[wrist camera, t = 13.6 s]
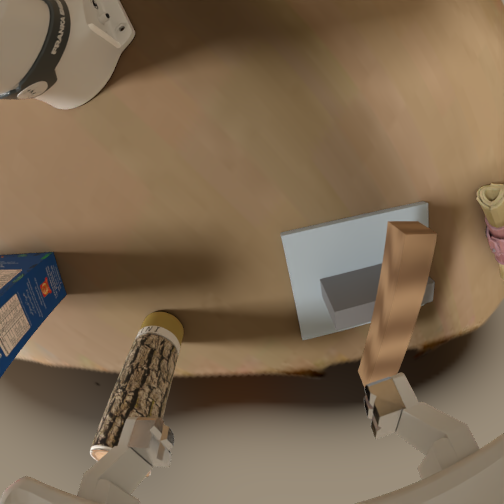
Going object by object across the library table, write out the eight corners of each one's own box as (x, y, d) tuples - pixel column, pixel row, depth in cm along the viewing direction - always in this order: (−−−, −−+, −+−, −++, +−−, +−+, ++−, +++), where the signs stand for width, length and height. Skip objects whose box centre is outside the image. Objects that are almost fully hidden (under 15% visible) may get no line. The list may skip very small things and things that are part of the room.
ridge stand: (301, 335, 45) (311, 377, 36) (280, 232, 38) (290, 263, 29) (420, 301, 43) (446, 332, 34) (423, 201, 36) (461, 220, 27)
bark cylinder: (193, 327, 44) (162, 473, 21) (168, 348, 45) (133, 479, 23) (159, 301, 42) (102, 444, 19) (137, 324, 43) (81, 453, 21)
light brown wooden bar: (387, 221, 27) (405, 234, 24) (417, 221, 27) (437, 233, 24) (358, 371, 36) (366, 391, 33) (382, 366, 36) (391, 386, 33)
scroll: (465, 206, 35) (489, 285, 41) (504, 207, 28) (519, 291, 34) (476, 177, 36) (499, 256, 42) (511, 176, 29) (528, 260, 35)
